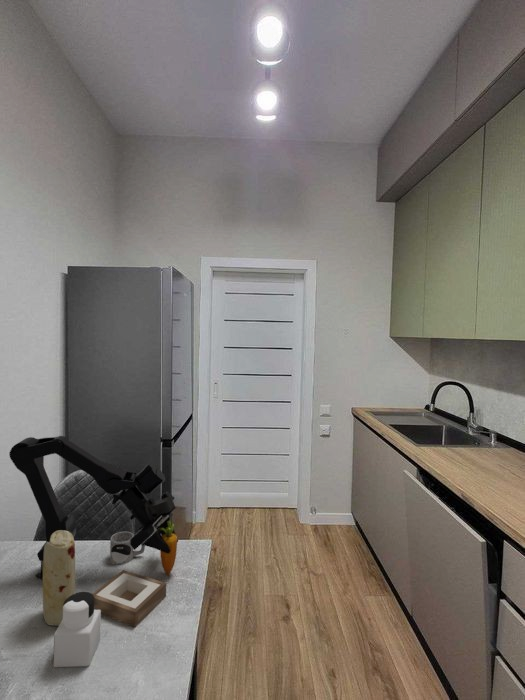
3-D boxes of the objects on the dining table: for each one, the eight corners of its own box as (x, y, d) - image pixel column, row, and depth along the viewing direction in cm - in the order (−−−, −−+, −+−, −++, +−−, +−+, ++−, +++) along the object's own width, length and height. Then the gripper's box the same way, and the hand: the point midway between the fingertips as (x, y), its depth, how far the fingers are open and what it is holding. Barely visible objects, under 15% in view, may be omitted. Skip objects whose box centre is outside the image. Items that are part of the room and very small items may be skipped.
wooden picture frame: (95, 606, 97) (95, 595, 97) (123, 583, 106) (123, 573, 106) (134, 621, 93) (135, 608, 93) (160, 596, 102) (160, 584, 102)
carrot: (172, 581, 109) (173, 528, 108) (155, 578, 110) (157, 525, 109) (179, 571, 114) (181, 520, 113) (163, 568, 115) (165, 517, 114)
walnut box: (89, 609, 96) (89, 596, 96) (123, 582, 108) (123, 569, 108) (135, 627, 91) (135, 612, 91) (165, 596, 103) (166, 583, 102)
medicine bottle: (67, 641, 87) (68, 587, 86) (100, 640, 87) (101, 587, 87) (52, 668, 79) (53, 610, 79) (89, 667, 80) (90, 609, 80)
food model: (79, 622, 92) (81, 538, 92) (48, 636, 88) (50, 548, 87) (68, 600, 99) (69, 522, 99) (38, 612, 95) (39, 530, 94)
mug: (108, 565, 115) (108, 543, 115) (111, 553, 122) (112, 532, 121) (143, 562, 117) (144, 540, 117) (145, 550, 124) (145, 529, 124)
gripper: (142, 500, 102) (181, 547, 101) (170, 476, 121) (203, 515, 119) (113, 526, 104) (151, 573, 103) (145, 498, 122) (178, 537, 121)
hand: (173, 547), depth 111 cm, fingers closed on carrot, 5 cm apart
